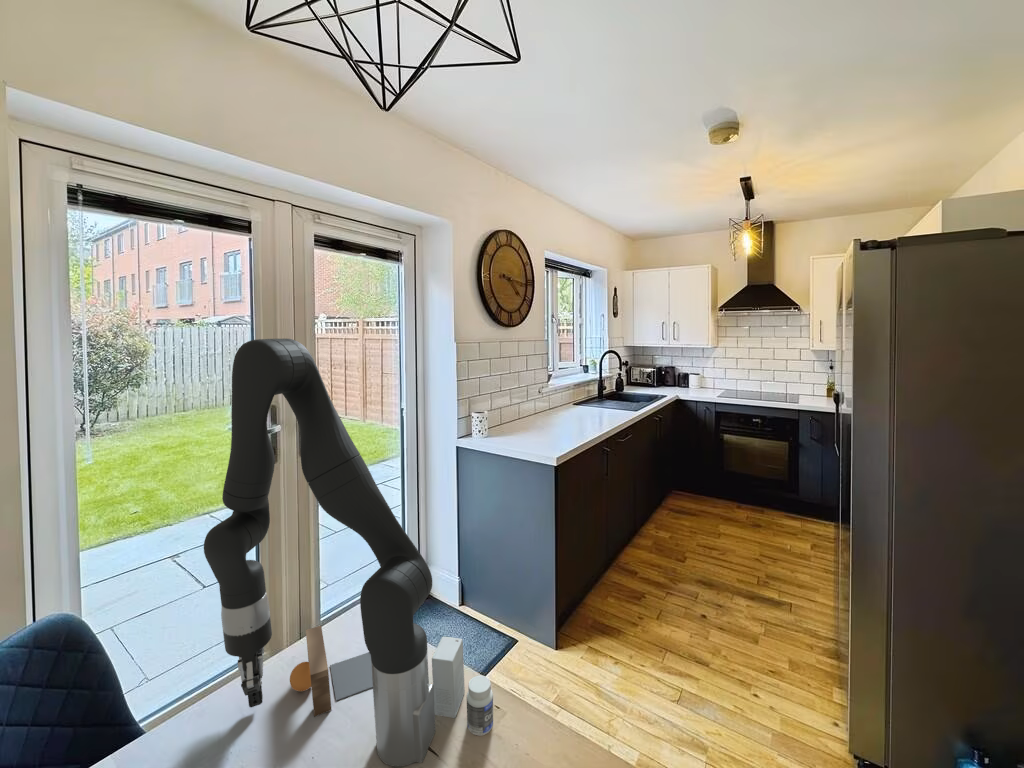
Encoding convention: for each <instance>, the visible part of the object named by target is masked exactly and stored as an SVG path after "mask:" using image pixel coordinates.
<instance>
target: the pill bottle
mask: <svg viewBox="0 0 1024 768" xmlns="http://www.w3.org/2000/svg"><path fill="white" fill-rule="evenodd" d="M493 694H494V693H493V690H492V685H491V680H490V678H488V677H487V676H485V675H476V676H473V677H472V678H471V679H470V680H469V682H468V691H467V692H466V725H467V729H468V731H469V732H470V733H471V734H473V735H475V736H485V735H486V734H488V733H490V732H491V730H492V728H493V726H494V695H493Z"/></svg>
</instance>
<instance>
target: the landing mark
mask: <svg viewBox="0 0 1024 768" xmlns="http://www.w3.org/2000/svg"><path fill="white" fill-rule="evenodd" d="M330 673H331V678H332V683H333V685H332V686H333V690H334V691H333V692H334V697H335V701H336V702H338V701H340V700H343V699H346V698H348V697H351V696H353V695H356V694H359V693H362V692H364V691H367V690H371V689H373V681H372V665H371V655H370V653H369V651H368V652H365V653H362V654H359V655H356V656H354V657H351V658H348V659H345V660H341V661H339V662H336V663H332V664H330Z"/></svg>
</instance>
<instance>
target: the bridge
mask: <svg viewBox="0 0 1024 768" xmlns="http://www.w3.org/2000/svg"><path fill="white" fill-rule="evenodd" d="M322 627H323V626H322V625H318V626H315V627H311V628H308V629H305V638H306V646H307V647H306V648H307V659H308V661H307V662H309V666H310V676H311V687H310V688H311V696H312V698H311V699H312V706H313V707H312V708H313V717H314V718H315V717H318V716H320V715H323V714H325V713H328V712H331V711H332V701H331V699H332V698H331V687H330V675H329V666H328V660H327V653H326V648H325V641H324V634H323V628H322Z"/></svg>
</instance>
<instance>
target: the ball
mask: <svg viewBox="0 0 1024 768" xmlns="http://www.w3.org/2000/svg"><path fill="white" fill-rule="evenodd" d="M289 684H290V687H291V688H292V689H293V690H295V691H296V692H305V691H307V690H309V689H310V688H312V687H311V676H310V666H309V661H302V662H300V663H298V664H297V665H295V666H294V668H293V669H292V670H291V672H290V676H289Z"/></svg>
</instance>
